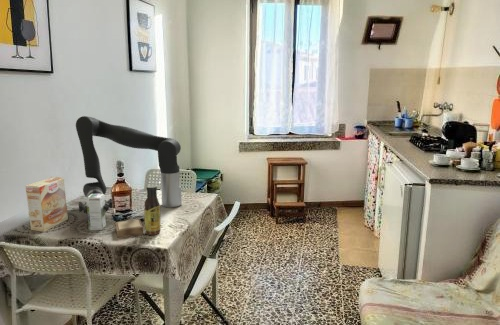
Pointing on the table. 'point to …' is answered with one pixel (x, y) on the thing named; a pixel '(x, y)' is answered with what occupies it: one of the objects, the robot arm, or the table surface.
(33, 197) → the coffeecake box
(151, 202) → the sauce bottle
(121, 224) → the pedestal
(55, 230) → the table surface
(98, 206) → the syrup box
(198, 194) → the table surface
